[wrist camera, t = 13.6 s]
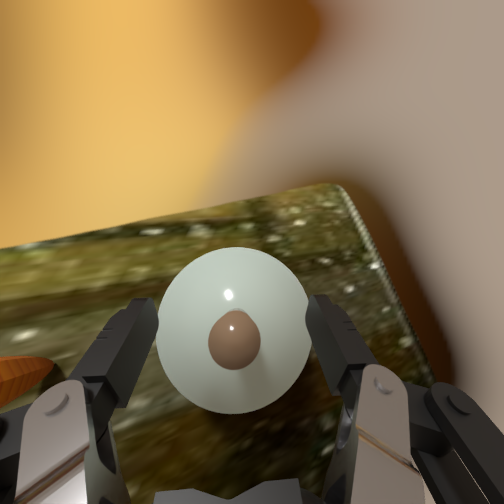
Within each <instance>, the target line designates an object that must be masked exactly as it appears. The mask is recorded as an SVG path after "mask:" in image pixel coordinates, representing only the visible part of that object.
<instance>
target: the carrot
mask: <svg viewBox="0 0 504 504" xmlns="http://www.w3.org/2000/svg"><path fill="white" fill-rule="evenodd" d="M53 366H54V363H53V361H52V360H49V359H47V358H41V357H30V356H10V357H0V408H1V407H3V406H5V405H6V404H8V403H10V402H11V401H13V400H14V399H16V398H17V397H19V396H20V395H22V394H24V393H25V392H26V391H28V390H29V389H30V388H32V387H33V386H34V385H36V384H37V383H38V382H39V381H41V380H42V379H43V378H44V377H45V376H47V374H48V373H49V372H50V371H51V370H52V369H53Z"/></svg>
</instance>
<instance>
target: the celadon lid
mask: <svg viewBox="0 0 504 504" xmlns="http://www.w3.org/2000/svg"><path fill="white" fill-rule="evenodd" d="M307 306H308V299H307V296H306V294H305V292H304V289H303V287H302V286H301V284H300V282H299V281H298V279H297V278H296V277H295V276H294V274H293V273H292V272H291V271H290V270H289V269H288V268H287V267H286V266H285V265H284V264H283V263H281V262H280V261H278V260H277V259H276V258H274V257H272V256H270V255H268V254H266V253H263V252H261V251H258V250H254V249H250V248H242V247H232V248H224V249H219V250H215V251H212V252H210V253H207V254H205V255H203V256H201V257H199V258H197V259H195V260H194V261H193V262H191V263H190V264H188V265H187V266H186V267H185V268H184V269H183V270H182V271H181V272H180V273H179V274H178V275H177V276H176V277H175V279H174V280H173V281H172V283H171V284H170V286H169V287H168V289H167V291H166V293H165V295H164V297H163V299H162V302H161V305H160V308H159V312H158V318H159V327H158V331H157V334H156V343H157V350H158V354H159V358H160V361H161V364H162V366H163V368H164V371H165V373H166V375H167V376H168V378H169V379H170V381H171V383H172V384H173V385H174V386H175V387H176V389H177V390H178V391H179V392H180V393H181V394H182V395H183V396H185V397H186V398H187V399H188V400H190V401H191V402H193V403H194V404H196V405H198V406H200V407H202V408H204V409H207V410H210V411H214V412H217V413H225V414H240V413H246V412H251V411H254V410H257V409H260V408H262V407H265V406H267V405H268V404H270V403H272V402H274V401H275V400H276V399H278V398H279V397H280V396H282V395H283V394H284V393H285V392H286V391H287V390H288V389H289V388H290V387H291V386H292V385H293V383H294V382H295V381H296V379H297V378H298V377H299V375H300V373H301V371H302V370H303V368H304V366H305V363H306V361H307V358H308V355H309V352H310V348H311V342H312V341H311V338H310V335H309V333H308V330H307V327H306V323H305V314H306V310H307Z"/></svg>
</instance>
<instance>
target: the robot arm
mask: <svg viewBox="0 0 504 504" xmlns="http://www.w3.org/2000/svg"><path fill="white" fill-rule="evenodd" d="M305 323H306V327H307V330H308V333H309V335H310V338H311V341H312V343H313V346H314V349H315V351H316V354H317V357H318V359H319V362H320V365H321V367H322V370H323V373H324V375H325V378H326V381H327V383H328V386H329V389H330V392H331V394H332V396H334V395H341V396H342V399H343V401H344V404H343V407H342V412H341V417H340V422H339V427H338V432H337V437H336V442H335V447H334V452H333V456H332V459H331V462H330V465H329V468H328V471H327V474H326V478H325V482H324V487H323V491H322V496H321V499H320V498H319V497H317V496H316V495H314V494H313V493H311V492H309V491H307V490H305V489H303V488H300V487H299V481H298V478H296V479H286V480H276V481H266V482H263V483H261V484H259V485H257V486H255V487H253V488H252V489H250V490H248V491H246V492H244V493H242V494H240V495H238V496H236V497H235V498H233V499H230V500H226V499H222V498H219V497H216V496H213V495H210V494H207V493H204V492H201V491H198V490H195V489H184V490H173V491H163V492H156V494H155V498H154V503H152V504H425V496H424V486H423V481H422V478H421V475H422V477H423V479H424V481H425V483H426V485H427V487H428V489H429V491H430V493H431V495H432V497H433V499H434V501H435V503H436V504H489V503H490V504H504V435H503V434H502V432H501V431H500V430H499V429H498V428H497V427H496V425H495V424H494V423H493V422H492V421H491V420H490V418H489V417H488V416H487V415H486V414H485V413H484V411H483V410H482V409H481V408H480V407H479V406H478V405H477V403H476V402H475V401H474V400H473V399H472V398H470V397H469V396H468V395H467V394H466V393H464V392H463V391H461V390H460V389H458V388H456V387H454V386H452V385H450V384H447V383H441V382H438V383H435V384H434V385H432V386H431V387H430V388H429V389H428V388H425V387H421V386H417V385H414V384H410V383H407V382H404V381H401V380H400V379H399V378H398V377H397V376H396V375H395V374H394V373H393V372H392V371H390V370H389V369H387V368H385V367H383V366H380V365H379V363H378V362H377V360H376V359H375V357H374V356H373V354H372V352H371V351H370V349H369V348H368V346H367V345H366V343H365V341H364V340H363V338H362V337H361V335H360V334H359V332H358V331H357V329H356V327H355V326H354V324H353V323H352V321H351V319H350V318H349V316H348V315H347V313H346V312H345V311H344V310H343V309H342V308H341V307H339V306H338V305H333V304H332V303H331V301H330V299H329V297H328V296H327V295H311V296H310V298H309V302H308V306H307V310H306V314H305ZM158 327H159V318H158V315H157V312H156V308H155V305H154V302H153V299H152V298H134V299H132V301H131V302H130V304H129V305H128V307H127V308H126V309H121V310H120V311H119V312H117V313H116V314H115V315H114V316H112V317H111V318H110V319H109V321H108V322H107V324H106V325H105V326H104V328H103V331H101V332H100V333H99V335H98V336H97V339H96V340H94V342H93V343H92V345H91V346H90V347H89V349H88V350H87V352H86V353H85V355H84V356H83V357H82V359H81V360H80V362H79V363H78V364H77V366H76V367H75V369H74V370H73V371H72V373H71V374H70V376H69V377H68V378H67V379H66V380H65V381H64V382H61V383H59V384H57V385H55V386H53V387H51V388H50V389H48V390H47V391H45V392H44V393H43V394H42V395H41V396H39V397H38V398H37V399H36V400H35V402H33V403H31V404H28V405H25V406H22V407H19V408H16V409H14V410H11V411H8V412H5V413H2V414H0V504H131V500H130V496H129V493H128V490H127V487H126V485H125V483H124V481H123V478H122V475H121V471H120V466H119V461H118V455H117V450H116V445H115V440H114V435H113V430H112V425H111V421H110V418H111V416H112V414H113V411H114V409H115V408H126V406H127V404H128V401H129V399H130V397H131V394H132V392H133V389H134V387H135V384H136V382H137V380H138V377H139V375H140V372H141V370H142V368H143V365H144V363H145V360H146V358H147V355H148V353H149V351H150V348H151V346H152V343H153V341H154V339H155V336H156V334H157V331H158ZM454 450H455V451H456V452H457V454H458V455H459V456H460V458H461V460H462V461H463V463H464V464H465V466H466V467H467V469H468V470H469V472H470V473H471V475H472V476H473V478H474V479H475V481H476V482H477V484H478V485H479V487H480V488H481V490H482V492H483V493H484V495H485V496H486V498H487V499H488V501H489V502H488V501H487V499H486V498H485V496H484V495H483V493H482V492H481V490H480V489H479V487H478V486H477V484H476V483H475V481H474V480H473V478H472V476H471V475H470V474H469V472H468V470H467V469H466V467H465V466H464V464H463V463H462V461H461V460H460V458H459V457H458V455H457V454H456V452H455V451H454ZM411 455H412V458H413V459H414V462H415V463H416V465H417V467H418V469H419V471H420V473H421V475H420V473H419V471H418V470H417V469H416V468H414V467H413V465H412V462H411Z"/></svg>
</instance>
